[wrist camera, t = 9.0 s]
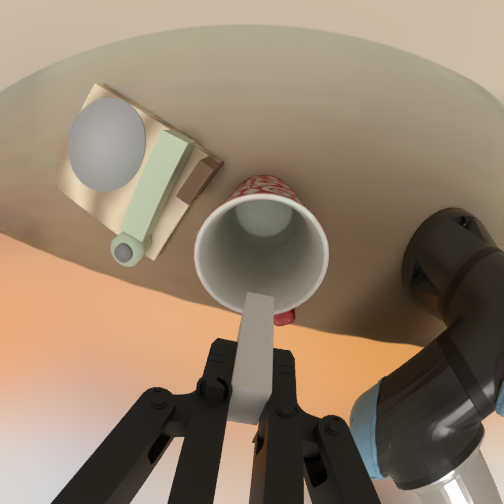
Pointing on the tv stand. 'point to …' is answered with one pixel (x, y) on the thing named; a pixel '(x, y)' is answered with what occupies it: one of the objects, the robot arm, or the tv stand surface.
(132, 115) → the seat pad
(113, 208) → the board
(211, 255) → the mug
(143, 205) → the leg
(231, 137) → the tv stand surface
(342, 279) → the tv stand surface
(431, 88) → the tv stand surface
